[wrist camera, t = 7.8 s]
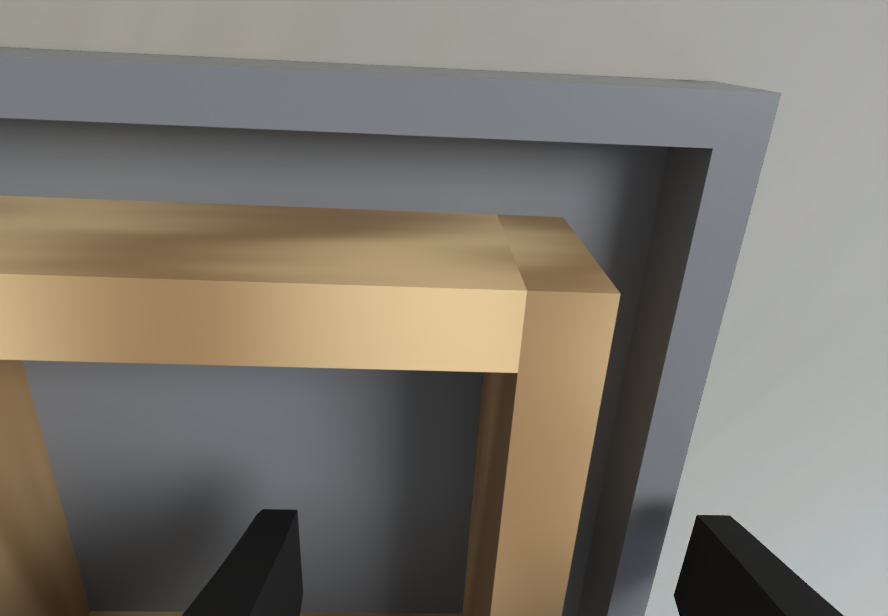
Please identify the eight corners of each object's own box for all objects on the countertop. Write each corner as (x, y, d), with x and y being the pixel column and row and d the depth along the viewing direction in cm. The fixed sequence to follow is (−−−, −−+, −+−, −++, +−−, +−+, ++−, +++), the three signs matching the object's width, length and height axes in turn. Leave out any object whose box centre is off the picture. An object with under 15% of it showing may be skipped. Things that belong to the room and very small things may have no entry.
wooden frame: (563, 216, 11) (662, 349, 6) (506, 646, 16) (539, 899, 11) (-97, 191, 10) (-505, 317, 6) (50, 644, 15) (-110, 909, 11)
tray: (713, 81, 11) (781, 93, 9) (583, 681, 17) (604, 766, 15) (-251, 34, 10) (-423, 35, 8) (1, 680, 16) (-57, 770, 14)
